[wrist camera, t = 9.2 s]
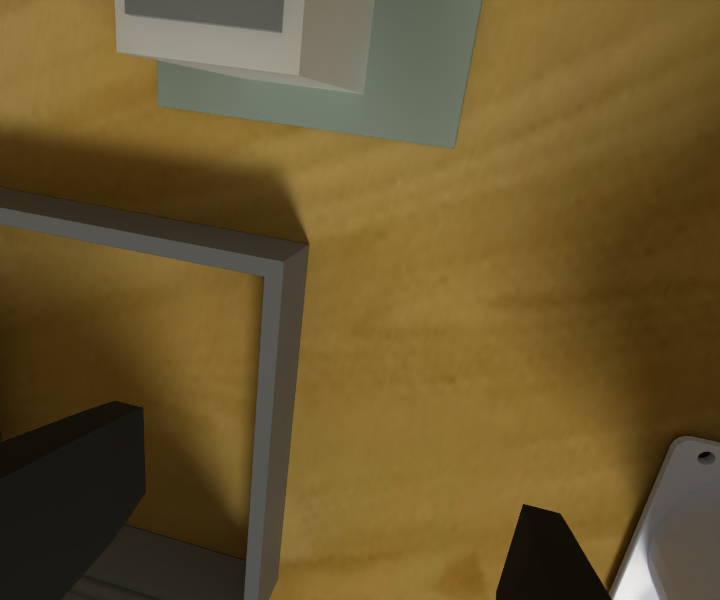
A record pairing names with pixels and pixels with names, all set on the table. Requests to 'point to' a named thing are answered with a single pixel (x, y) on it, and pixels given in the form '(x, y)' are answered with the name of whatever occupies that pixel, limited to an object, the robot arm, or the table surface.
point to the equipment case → (273, 407)
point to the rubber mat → (382, 81)
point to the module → (254, 38)
